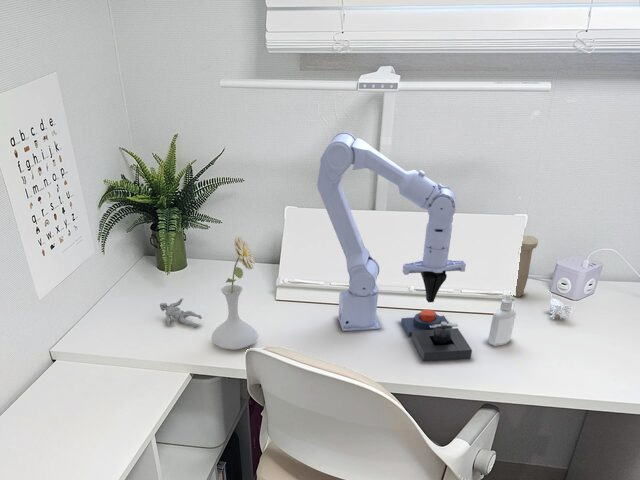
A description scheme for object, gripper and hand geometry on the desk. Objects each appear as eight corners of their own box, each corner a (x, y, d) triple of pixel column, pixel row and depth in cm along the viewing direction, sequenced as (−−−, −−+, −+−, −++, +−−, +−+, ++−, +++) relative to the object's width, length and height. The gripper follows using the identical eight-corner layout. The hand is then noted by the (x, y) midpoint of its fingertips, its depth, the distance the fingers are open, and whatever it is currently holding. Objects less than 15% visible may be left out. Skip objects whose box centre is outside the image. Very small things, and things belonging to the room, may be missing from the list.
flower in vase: (240, 358, 159) (234, 253, 144) (202, 346, 164) (192, 244, 149) (271, 336, 168) (268, 235, 152) (233, 326, 173) (227, 226, 157)
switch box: (408, 337, 166) (409, 326, 164) (400, 323, 172) (402, 312, 171) (452, 335, 167) (454, 323, 165) (443, 320, 173) (444, 309, 171)
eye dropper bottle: (512, 346, 162) (523, 298, 154) (489, 346, 162) (498, 299, 154) (508, 337, 165) (518, 290, 158) (485, 338, 165) (493, 291, 158)
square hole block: (422, 362, 156) (424, 352, 155) (411, 340, 165) (412, 330, 164) (470, 359, 157) (472, 349, 156) (456, 337, 166) (457, 328, 164)
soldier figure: (188, 336, 171) (149, 314, 173) (193, 340, 176) (155, 319, 178) (203, 309, 171) (164, 287, 173) (208, 314, 176) (169, 293, 177)
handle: (525, 290, 187) (537, 236, 177) (526, 300, 182) (538, 244, 172) (506, 289, 187) (517, 235, 178) (507, 299, 183) (518, 243, 173)
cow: (571, 324, 170) (576, 307, 167) (549, 325, 170) (554, 307, 167) (556, 304, 179) (561, 287, 176) (536, 304, 180) (540, 287, 177)
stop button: (422, 322, 166) (423, 316, 165) (418, 316, 169) (419, 309, 168) (436, 321, 167) (437, 315, 166) (432, 315, 169) (433, 308, 168)
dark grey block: (429, 354, 159) (432, 327, 155) (424, 346, 162) (428, 319, 158) (455, 352, 160) (460, 325, 155) (450, 344, 163) (455, 318, 159)
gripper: (410, 252, 153) (404, 309, 161) (473, 249, 154) (463, 305, 162) (403, 242, 158) (397, 297, 167) (463, 238, 159) (455, 293, 168)
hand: (429, 300), depth 165 cm, fingers closed
